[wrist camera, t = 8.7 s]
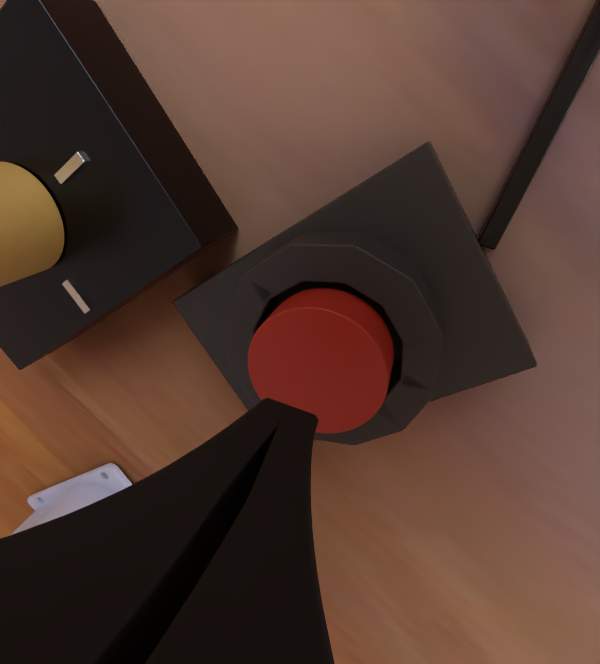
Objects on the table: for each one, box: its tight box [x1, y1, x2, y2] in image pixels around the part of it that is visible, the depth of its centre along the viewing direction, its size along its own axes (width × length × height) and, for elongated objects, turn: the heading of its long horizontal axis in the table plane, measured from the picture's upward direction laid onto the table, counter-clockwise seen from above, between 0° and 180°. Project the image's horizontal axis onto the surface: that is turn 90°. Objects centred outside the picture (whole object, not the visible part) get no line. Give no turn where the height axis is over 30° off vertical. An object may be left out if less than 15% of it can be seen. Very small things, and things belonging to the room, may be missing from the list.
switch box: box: [173, 142, 537, 445], centre depth 16 cm, size 11×8×4 cm
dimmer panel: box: [0, 0, 238, 370], centre depth 17 cm, size 12×9×3 cm
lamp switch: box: [248, 288, 394, 434], centre depth 14 cm, size 4×4×2 cm
